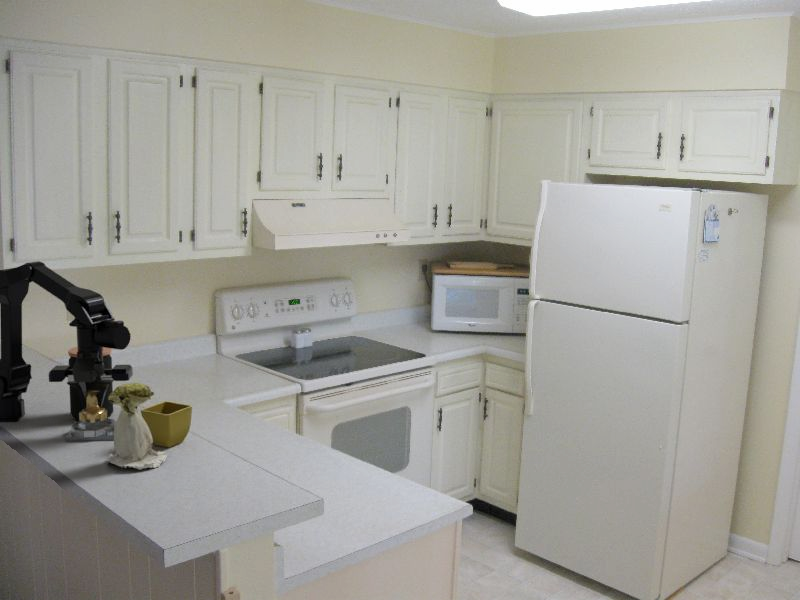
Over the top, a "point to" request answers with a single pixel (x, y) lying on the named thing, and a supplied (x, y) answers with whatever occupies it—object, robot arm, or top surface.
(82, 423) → the carrier
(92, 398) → the planet gear
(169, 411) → the flower pot
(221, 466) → the top surface
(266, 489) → the top surface
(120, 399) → the cream lumpy figure
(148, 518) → the top surface
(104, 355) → the coffee jar
